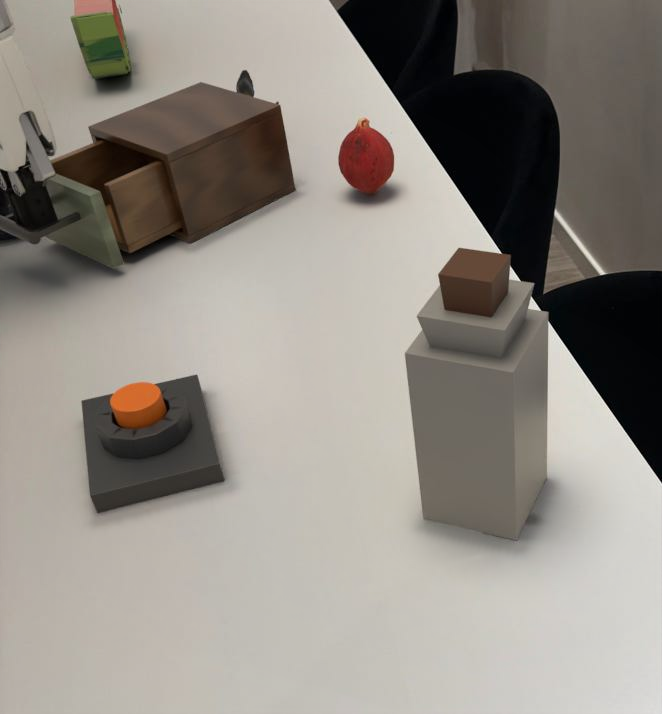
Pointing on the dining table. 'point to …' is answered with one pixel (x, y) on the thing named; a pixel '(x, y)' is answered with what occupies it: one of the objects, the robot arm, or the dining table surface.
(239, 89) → the eagle figurine
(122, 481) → the block
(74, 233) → the wooden drawer
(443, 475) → the perfume bottle
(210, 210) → the drawer cabinet
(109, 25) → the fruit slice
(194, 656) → the dining table surface
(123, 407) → the button
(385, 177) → the pomegranate
